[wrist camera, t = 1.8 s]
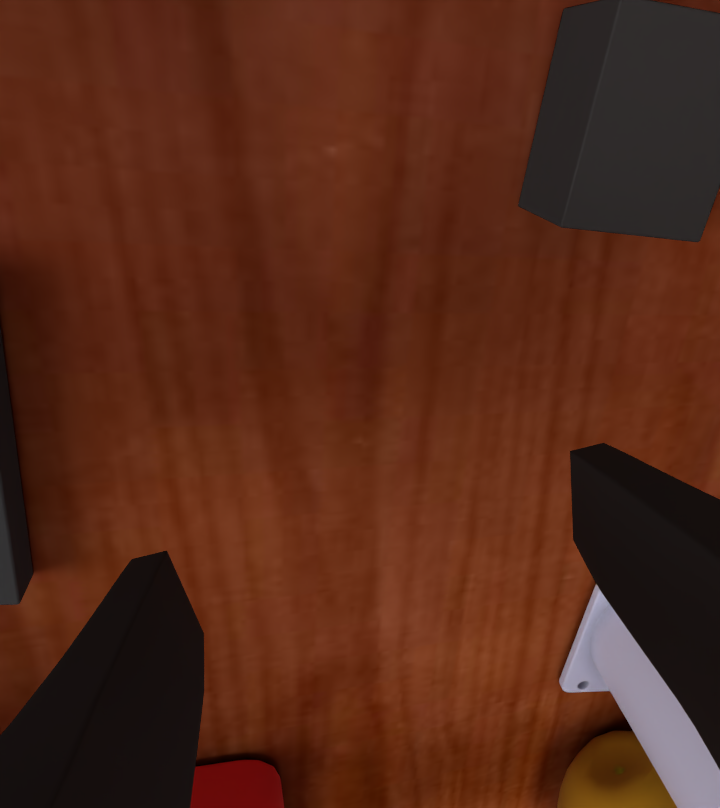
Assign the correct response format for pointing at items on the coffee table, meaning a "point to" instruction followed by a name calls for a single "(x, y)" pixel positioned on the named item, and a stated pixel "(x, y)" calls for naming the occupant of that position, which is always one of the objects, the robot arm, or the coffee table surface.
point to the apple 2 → (613, 776)
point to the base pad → (11, 506)
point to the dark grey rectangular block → (629, 121)
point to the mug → (237, 785)
